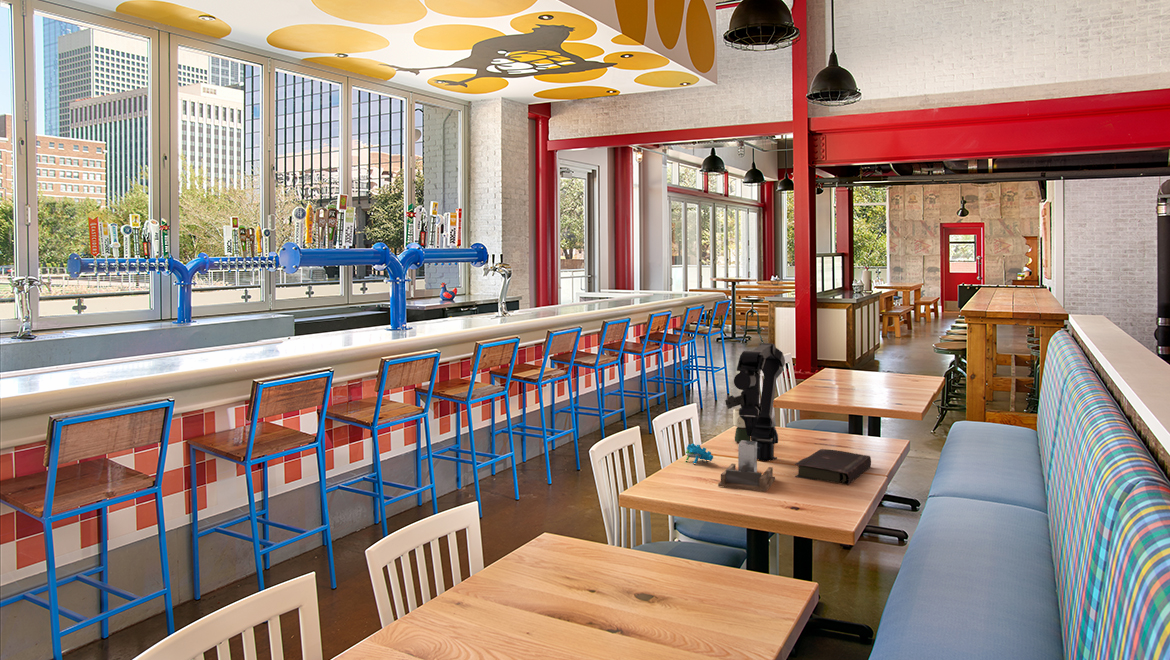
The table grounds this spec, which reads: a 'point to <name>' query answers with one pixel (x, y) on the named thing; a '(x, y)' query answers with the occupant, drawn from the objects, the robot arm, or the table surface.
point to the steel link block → (747, 455)
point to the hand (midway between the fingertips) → (749, 434)
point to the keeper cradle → (746, 478)
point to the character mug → (740, 427)
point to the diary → (833, 466)
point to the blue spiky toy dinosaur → (698, 453)
